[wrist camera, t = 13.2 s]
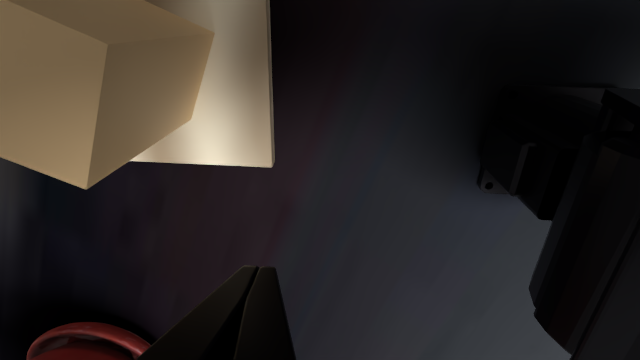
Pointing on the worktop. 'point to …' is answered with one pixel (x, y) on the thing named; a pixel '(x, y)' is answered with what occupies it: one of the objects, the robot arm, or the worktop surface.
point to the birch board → (226, 89)
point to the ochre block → (94, 82)
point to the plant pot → (87, 343)
